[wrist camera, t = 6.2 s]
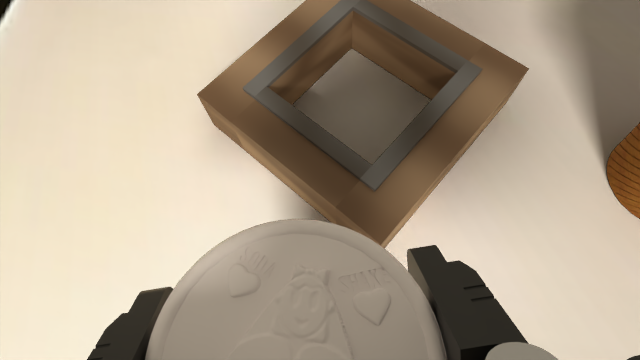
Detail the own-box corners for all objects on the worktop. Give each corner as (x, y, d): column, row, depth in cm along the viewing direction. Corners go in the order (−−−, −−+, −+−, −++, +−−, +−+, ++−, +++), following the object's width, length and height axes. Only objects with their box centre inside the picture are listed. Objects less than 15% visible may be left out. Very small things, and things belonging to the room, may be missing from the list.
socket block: (346, 4, 31) (347, -40, 27) (506, 102, 27) (531, 65, 23) (214, 124, 27) (195, 91, 24) (375, 259, 23) (381, 243, 20)
